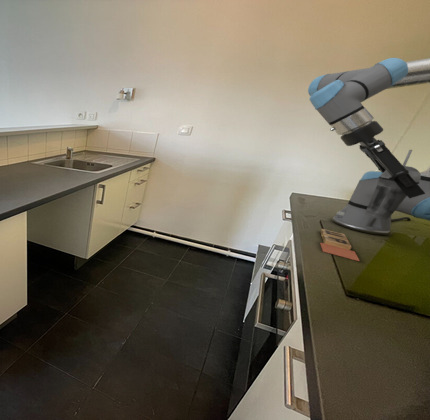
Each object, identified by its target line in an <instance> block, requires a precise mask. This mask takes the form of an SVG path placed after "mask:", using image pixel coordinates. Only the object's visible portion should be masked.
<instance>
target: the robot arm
mask: <svg viewBox="0 0 430 420" xmlns="http://www.w3.org/2000/svg"><path fill="white" fill-rule="evenodd" d="M424 84H427V85H430V57H428V58H421V59H415V60H408V61H405V60H404V59H401V58H399V57H389V58H386V59H384V60H381V61H379V62H377V63H375V64H374V65H372V66H370V67H366V68H365V67H364V68H359V69H353V70H346V71H339V72H335V73H326V74H322V75H320V76H317V77H315V78H314V79H313V80H311V82H310V83H309V85H308V88H307V93H308V95H309V101H310V103H311V105H312V106H313V108H314V109H315V111H317V112H318V113H319V114H320V116H321V117H322V118H323V120H325V122H326V123H327V124H328V125H329V126H330V127H331V128H330V129H329V130H330V132H335V133H336V134H337V135H338V136H340V139H341V141H342V142H343V143H344V144H345V145H346V146H347V147H351V146H352V147H353V146H355V145H358V144H360V145H358V147H359V150H360V151H361V152H362V153H364V154H365V156H366V157H367V158H369V160H370V161H371V162H372V163H373V164H374V166H375V167H376V168H377V169H378V171H375V170H370V171H367V172H364V173H363V175H362V176H361V178H360V179H359V180H358V182H357V185H356V186H355V188H354V190H353V192H352V195H351V196H350V198H349V201H347V204H346V205H345V206H344V207H342V208H341V210H338V211H337V212H336V214H334V216H333V217H332V219H331V221H332V223H334V224H336V225H338V226H340V227H342V228H346V229H349V230H353V231H355V232H360V233H364V234H370V235H375V236H376V235H377V236H387V235H388V234H389V233H390V231H391V229H392V222H396V221H397V222H398V221H403V220H407V222H408V221H409V222H410V221H412V219H411V218H410V217H409V216H411V217H413V218H416V219H422V220H426V221H429V222H430V165H429V166H428V167H427V169H426V170H423V171H419V172H420V175H421V179H420V181H419V184H417V183H416V182H415V181H414V180H413V178H412V177H411V176H410V175H409V174H408V173H409V171H408V170H406V169H405V167H404V166H403V163H401V162H400V161H399V159H397V157H396V156H395V155H394V154H393V153H392V152H391V150H390V149H389V148H388V147H387V146H386V143H385V142H384V141H383V140H382V139H376V138H375V136H378V135H380V134H382V132H383V131H384V128H383V127H382V126H381V125H380V123H379V122H378V121H376V120H374V119H375V118H374V116H373V114H371V113H370V111H369V110H368V109H367V108H366V107H365V106H364V105H363V102H365V101H366V100H368V99H371V97H374V96H376V95H377V94H379V93H381V92H383V91H386V90H389V89H398V88H403V87H410V86H418V85H424ZM386 170H387V172H388V173H389V174H390V175H391V177H390V178H389V179H390V180H392V179H393V180H394V181H395V182H396V183H397V185H398V186H399V187H400V188H401V189H402V191H403V192H404V193H405V194H406V195H407V196H406V198H405V199H404V200H403V201H402V203H401V204H400V205H399V206H398V208H397V209H396V210H395V211H394V212H399V213H402V214H404V215H408V216H403V217H400V218H392V215H391V216H390V217H389V218H388V219H387V220H386V219H378V218H374V217H370V216H367V215H365V213H366V211H367V207H368V205H369V203H370V200H371V198H372V196H373V193H374V191H375V189H376V187H377V182H378V179H379V178H378V177H379V176H381V174H382V173H383V172H384V171H386ZM400 170H401V171H400ZM397 171H398V172H397ZM395 172H396V173H395Z"/></svg>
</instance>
